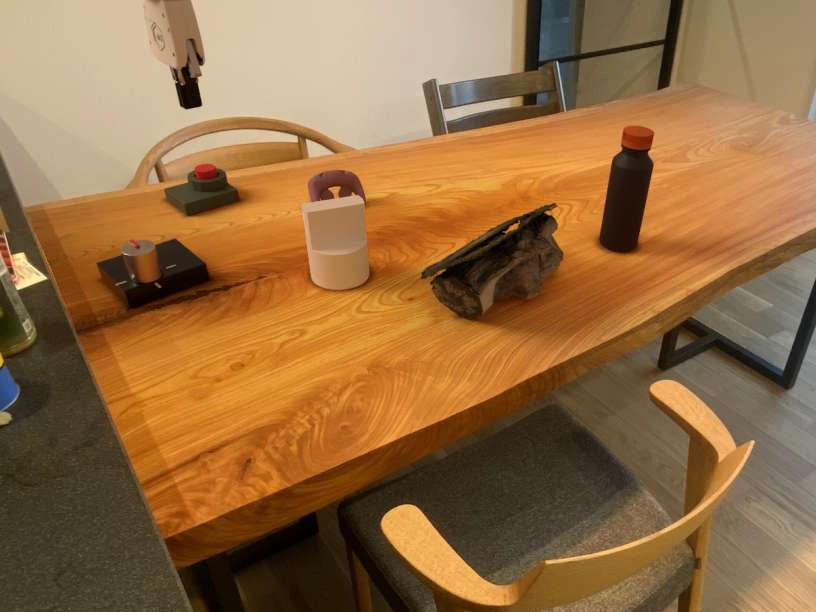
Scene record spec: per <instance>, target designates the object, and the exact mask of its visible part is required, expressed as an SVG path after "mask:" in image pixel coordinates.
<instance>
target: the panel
mask: <svg viewBox="0 0 816 612" xmlns="http://www.w3.org/2000/svg"><path fill="white" fill-rule="evenodd" d="M155 246H156V249H157V253H158V256H159V260H160V263H161V267H162V270H163V275H162V276H161V277H160V278H159V279H157V280H155V281H152V282H148V283H137V282H134V281H132V280H131V279H130V277H129V273H128V270H127V267H126V264H125V261H124V258H123V255H122V254H121V255H117V256H113V257H111V258H107V259H104V260H101V261H98V262H96V263H95V264H96V266H97V269H98V272H99V275H100V277H101V280H102V281H103V282H104V283H105V285H107V286H108V287H109V289H111V290H112V292H113V293H114V294H116V295H117V296H118V298H120V300H122V301H123V303H124V304H126V305H127V307H128V308H129V309H132V308H133V309H134V308H136V307H139V306H142V305H144V304H147V303H150V302H153V301H155V300H159V299H161V298H164V297H168V296H169V295H173V294H174V293H175V294H176V293H179V292H181V291H183V290H187V289H190V288H192V287H196V286H198V285H201V284H204V283H206V282H209V281H211V278H210V274H209V271H208V266H207V262H205V261H204V260H202V259H201V258H200V257H199V256H198V255H197V254H196V253H194V252H193V251H191V250H190V249H189V248H188V247H186V246H185V245H184V244H183V243H182V242H181V241H179V240H178V239H177V238H172V239H170V240H166V241H162V242H159V243H156V244H155Z"/></svg>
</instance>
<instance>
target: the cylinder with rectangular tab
mask: <svg viewBox="0 0 816 612" xmlns="http://www.w3.org/2000/svg"><path fill="white" fill-rule="evenodd" d="M365 205H366V203H365V204H364V200H363V199H362V198H361V197H360V196H359V195H355V194H354V195H351V196H349V197H342V198H339V197H337V198H334V199H329V200H323V201H322V200H320V201H317V202H311V201H310V202H306V203H301V211H302V212H301V213H302V221H303V228H304V234H305V241H306V249H307V250H306V251H307V259H308V265H309V271H310V278H311V281H312V282H313V283H314V284H315V285H316V286H318V287H320V288H323V289H326V290H333V291H342V290H343V291H344V290H351V289H353V288H356V287H359V286H361V285H363V284H364V283H365V282H366V281H367V280H368V279H369V277H370V263H369V249H368V235H367V234H368V233H367V220H366V219H367V217H366V206H365Z"/></svg>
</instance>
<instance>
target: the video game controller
mask: <svg viewBox="0 0 816 612" xmlns="http://www.w3.org/2000/svg"><path fill="white" fill-rule="evenodd" d="M337 187H340V188H339V190H338V193H337V197H338V198H342V197H349V196H352V194H354V196H355V195H359V196H360V197H361V198H362V199H363V200H364V204H365V205H366V203H367V200H366V193H365V191H364V188H363V185H362V182H361V180H360V178H359V177H358V175H357V174H355V173H354V172H352V171H351V170H343V169H330V170H326V171H323V172H320V173H317V174H314V175H313V176H312V177H311V178H309V180H308V181H307V190H308V195H309V196H308V197H309V200H310V202H317V201H323V200H329V199H335V194H334V192H333V191H332V190H330V188H337Z"/></svg>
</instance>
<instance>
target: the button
mask: <svg viewBox="0 0 816 612" xmlns="http://www.w3.org/2000/svg"><path fill="white" fill-rule="evenodd" d="M216 168H217V167H216V165H214V164H211V163H202V164H197V165H195V167H194V169H193V170H195V174H196V178H197V179H201V180H207V179H213V178H216V177H217V171H216Z"/></svg>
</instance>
